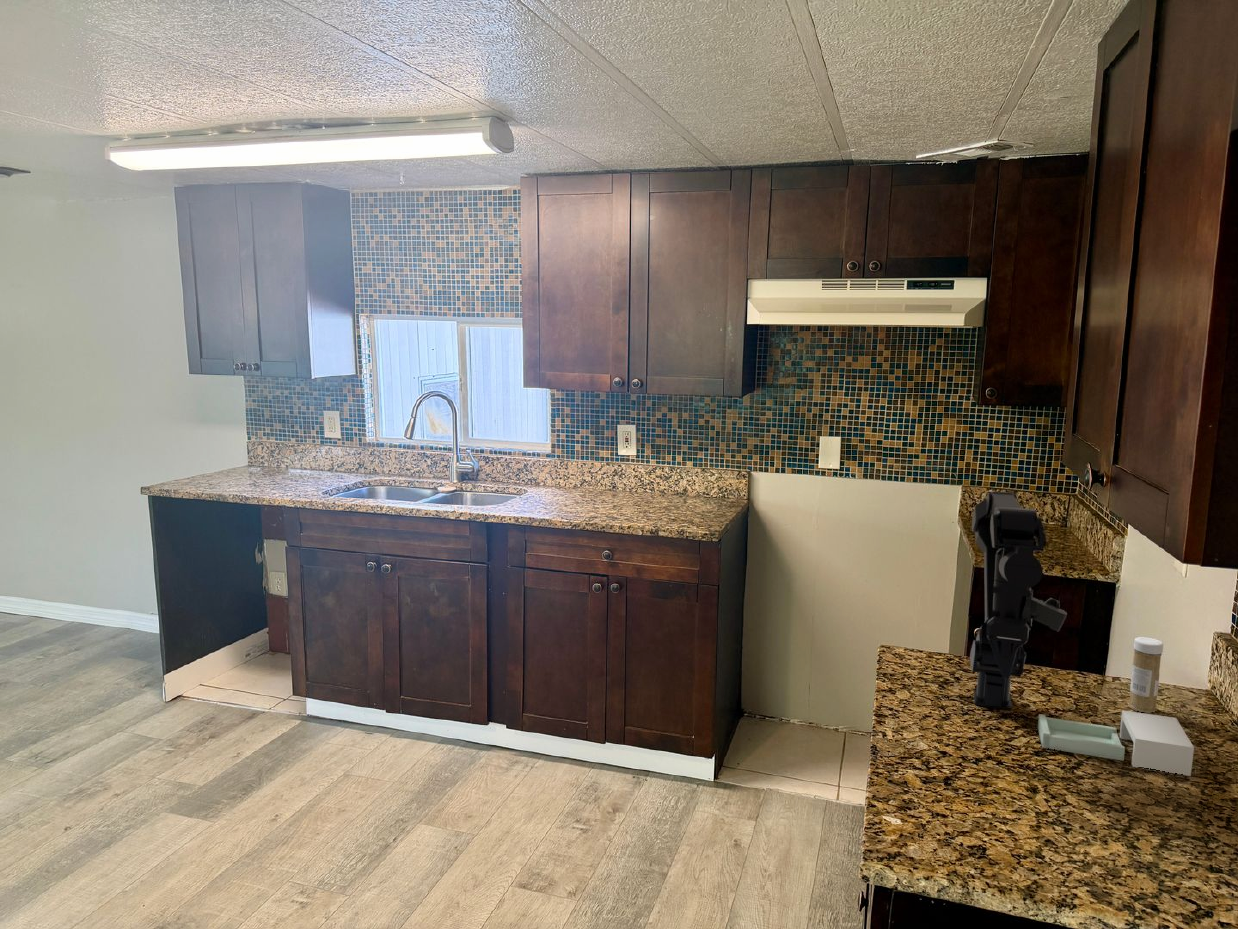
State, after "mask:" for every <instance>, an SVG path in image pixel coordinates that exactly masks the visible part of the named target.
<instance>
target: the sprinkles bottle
mask: <svg viewBox="0 0 1238 929" xmlns="http://www.w3.org/2000/svg"><path fill="white" fill-rule="evenodd" d="M1133 652H1134V653H1133V660H1132V669H1131V677H1130V678H1131V679H1130V687H1129V688H1130V693H1129V702H1128V707H1129V708H1130V709H1132V710H1133V711H1134V712H1137V711H1139V712H1138V713H1141V712H1146V713H1145V714H1151V713H1150V712H1154V713H1156V712H1157V703H1158V702H1157V701H1158V700H1157V698H1158V693H1159V686H1160V685H1159V684H1160V671H1161V670H1160V668H1161V659H1162V658H1161V657H1162V655H1163V652H1164V643H1163V642H1162V641H1161V640H1160V639H1156V638H1153V637H1146V636H1139V637H1138V636H1137V637H1135V638H1134V642H1133ZM1155 711H1156V712H1155Z"/></svg>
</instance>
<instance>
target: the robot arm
mask: <svg viewBox="0 0 1238 929" xmlns="http://www.w3.org/2000/svg"><path fill="white" fill-rule="evenodd" d="M1017 498H1018V497H1017V494H1016V493H1013V492H1011V491H1010V492H1008V491H996V490H995V491H991V492H989V491H988V492H987V495H986V498H985V499H984V500H982V501H981V502H978V504H976V505H975V506H974V509H973V514H972V517H971V518H972V520H971V531H972V532H973V533H974V536H975V538H974V539H975V540H974V541H975V544H976V546H977V547H978V548H979V549H980V551H981V552H982V554H983V562H984V564H983V566H984V567H983V569H984V570H983V573H984V574H983V575H984V576H983V577H984V578H983V579H984V581H983V582H984V622H983V623H982V625H981V626H980V628H979V629H978V631H977V635H976V638H975V639H973V641H972V645H971V648H970V653H969V658H970V659H969V665H970V668H971V671H972V673H976V672H977V682H976V689H974V690H973V703H974V705H977V706H982V707H989V708H995V709H996V708H997V709H1002V710H1008V711H1009V710H1010V711H1011V710H1013V703H1012V698H1011V695H1010V691H1011V681H1012V680H1011V679H1012V677H1017V678H1021V677H1022V675H1023V674H1024V666H1025V662H1026V658H1027V653H1026V652H1025V649H1024V646H1023V645H1025V644H1027V642H1028V640H1029V632H1030V631H1031V629H1032V626H1033V624H1032V623H1033V620H1034V621H1037V622H1038V623H1041V624H1043V625H1044V626H1047V627H1049V628H1050V629H1051V630H1052V631H1056V632H1060V630H1061V628H1062V626H1063V624H1064V623H1065V620H1066V618H1067V615H1068V612H1067V611H1065V609H1061V607H1060V606H1061V605H1060V601H1059V600H1057V599H1054V598H1052V597H1050V598H1048V599H1046V601H1044V600H1043V599H1038V598H1035V597H1034V596H1033V595H1034V590H1033V589H1032V588H1033V587H1035V586H1036V585H1038V584H1039V583H1040V581H1041V579H1042V577H1043V573H1044V571H1043V567H1042V564H1041V562H1040V560H1039V559H1038V558H1037V557H1035V556H1034V552H1044V550H1045V548H1046V546H1047V537H1046V530H1045V524H1044V523H1043V522H1042V518H1041V517H1040V516H1039V515H1038V512H1037V511H1036V510H1035V509H1031V508H1023V507H1022V506H1021V505H1020V503H1019V501H1018V499H1017Z"/></svg>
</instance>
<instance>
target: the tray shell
mask: <svg viewBox="0 0 1238 929" xmlns="http://www.w3.org/2000/svg"><path fill="white" fill-rule="evenodd" d="M1037 718H1038V720H1037V731H1038V735H1039V739H1040V743H1041V748H1043V749H1048V748H1049V750H1054V749H1055V751H1060V750H1061V751H1062V752H1068V753H1074V754H1080V755H1087V756H1092V757H1097V758H1098V757H1099V758H1103V759H1104V758H1105V759H1110V760H1118V761H1124V760H1125V752H1126V751H1125V750H1126V747H1125V746H1124V745H1122V742H1121V740H1120V737H1119V735H1118V733H1117V731H1118V730H1117V727H1115V726H1109V725H1108V726H1107V725H1100V724H1094V723H1088V722H1083V721H1082V722H1081V721H1075V720H1069V719H1061V718H1055V717H1048V716H1046V714H1042V713H1039V714H1038V717H1037Z"/></svg>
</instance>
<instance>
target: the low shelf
mask: <svg viewBox="0 0 1238 929" xmlns="http://www.w3.org/2000/svg"><path fill="white" fill-rule="evenodd" d="M1120 719H1121V720H1120V730H1119V740H1120V739H1121V740H1124V741H1125V740H1127V741H1132V742H1133V746H1132V756H1131V766H1132V767H1133V768H1138V767H1144V768H1149V769H1148V770H1150V768H1151V769H1156V770H1160V771H1159V772H1162V771H1165V772H1164V773H1168V772H1169V774H1175V773H1177V774H1176V775H1181V774H1183V775H1182V776H1187V777H1191V775H1192V770H1193V760H1194V753H1195V752H1194V751H1195V747H1194V745H1193V744H1192V742H1191V740H1190V738H1189V737H1188V735H1187V734H1186V732H1185V730H1184V729H1183V727H1182V725H1181V724H1180V722H1179V720H1178V718H1177V717H1172V716H1171V717H1170V716H1166V715H1164V716H1163V715H1158V714H1153V713H1141V712H1137V711H1129V710H1121V717H1120ZM1144 768H1143V769H1144ZM1156 770H1155V771H1156Z"/></svg>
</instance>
